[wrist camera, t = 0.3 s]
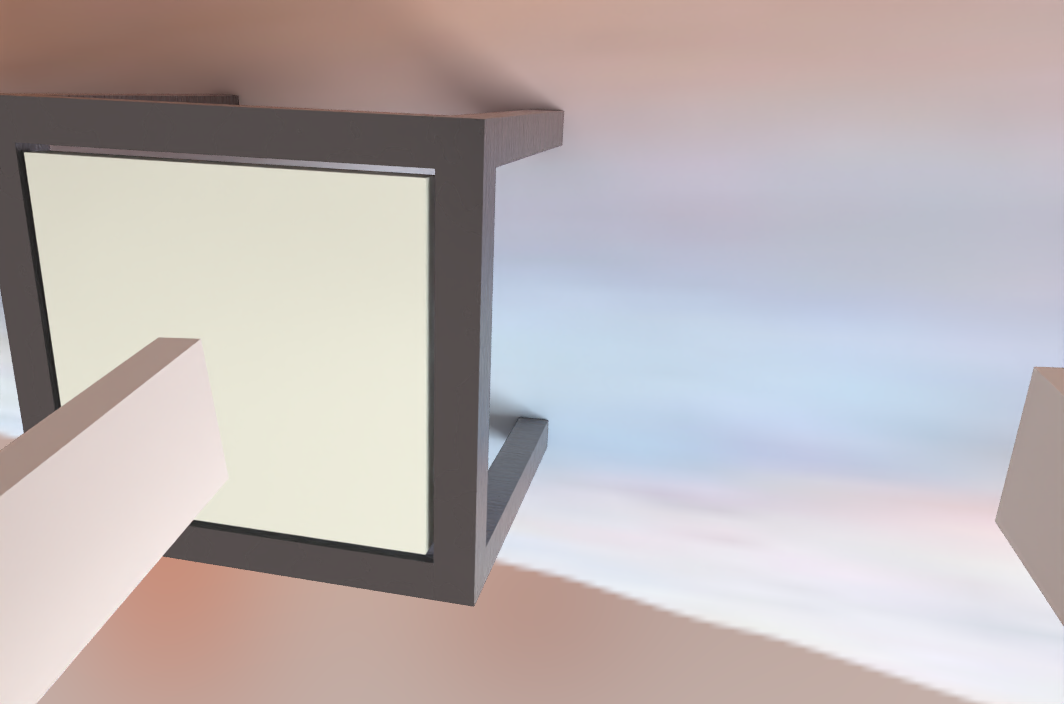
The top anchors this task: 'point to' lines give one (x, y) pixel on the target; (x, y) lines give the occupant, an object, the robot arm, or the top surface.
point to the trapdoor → (262, 323)
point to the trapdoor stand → (460, 305)
